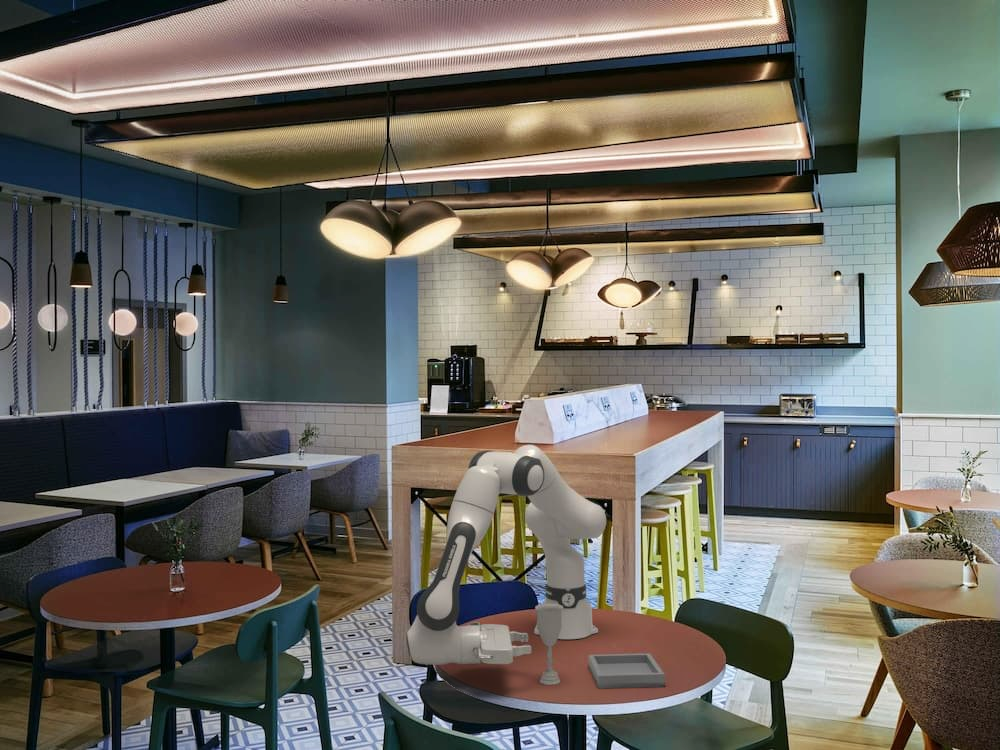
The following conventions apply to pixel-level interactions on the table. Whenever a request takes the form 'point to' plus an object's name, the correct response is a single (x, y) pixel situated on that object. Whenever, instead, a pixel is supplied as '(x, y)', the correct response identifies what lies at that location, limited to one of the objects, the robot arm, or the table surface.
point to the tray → (626, 671)
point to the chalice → (549, 636)
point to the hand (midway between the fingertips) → (529, 643)
